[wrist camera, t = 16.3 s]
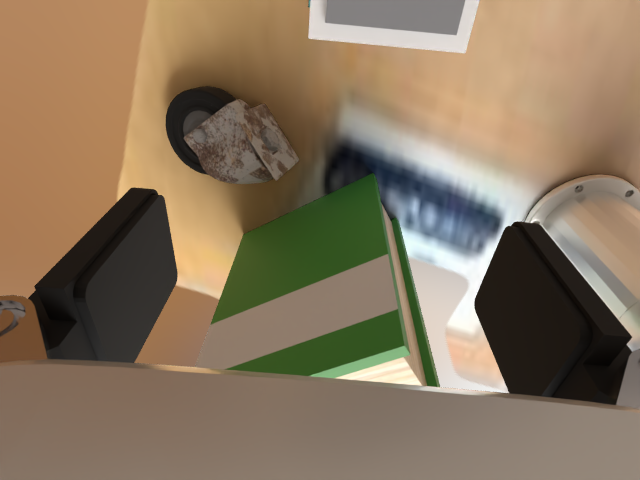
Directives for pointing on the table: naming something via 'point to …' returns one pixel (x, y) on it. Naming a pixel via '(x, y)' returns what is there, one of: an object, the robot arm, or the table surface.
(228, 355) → the hardback book
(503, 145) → the table surface
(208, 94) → the caster wheel
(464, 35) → the unit
